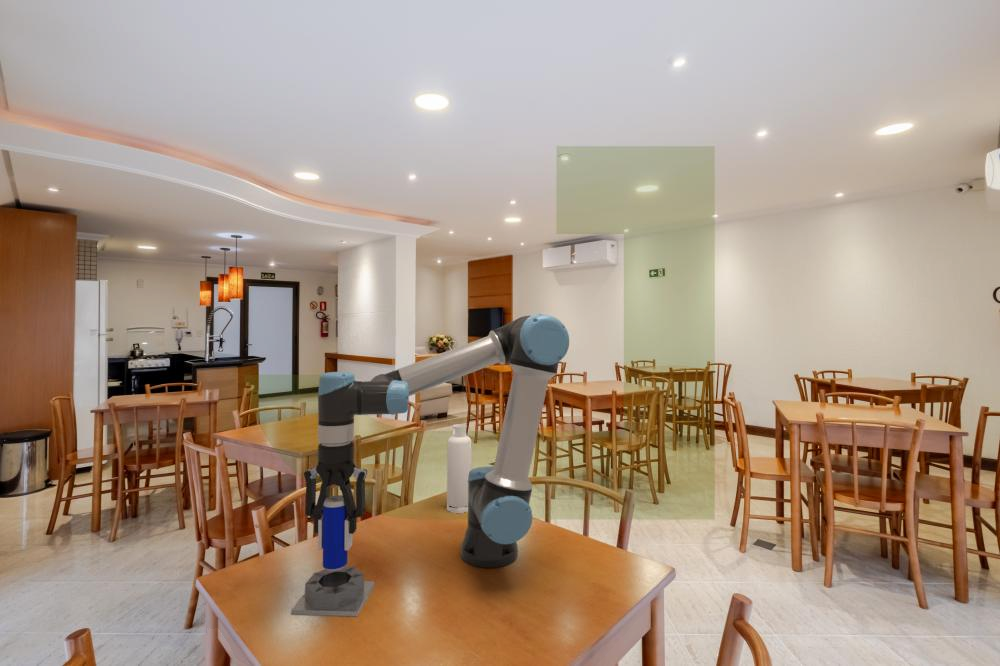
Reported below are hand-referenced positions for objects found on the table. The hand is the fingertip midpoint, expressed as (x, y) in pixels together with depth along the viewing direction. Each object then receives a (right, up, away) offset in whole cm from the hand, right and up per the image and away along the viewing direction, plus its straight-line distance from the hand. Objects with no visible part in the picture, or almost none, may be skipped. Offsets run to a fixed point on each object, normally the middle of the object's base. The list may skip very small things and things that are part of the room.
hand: (335, 547), depth 106 cm
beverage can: (0, -4, 0) cm, 4 cm away
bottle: (+23, -12, +54) cm, 60 cm away
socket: (0, -12, 0) cm, 12 cm away
